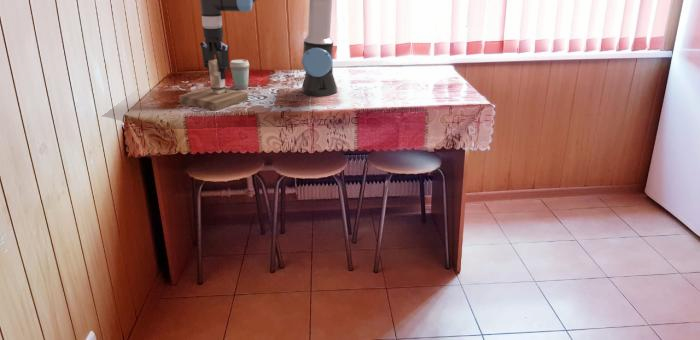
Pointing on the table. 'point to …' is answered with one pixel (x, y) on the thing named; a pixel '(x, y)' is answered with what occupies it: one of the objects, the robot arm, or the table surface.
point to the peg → (215, 78)
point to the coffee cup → (240, 73)
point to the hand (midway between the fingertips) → (218, 86)
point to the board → (213, 98)
